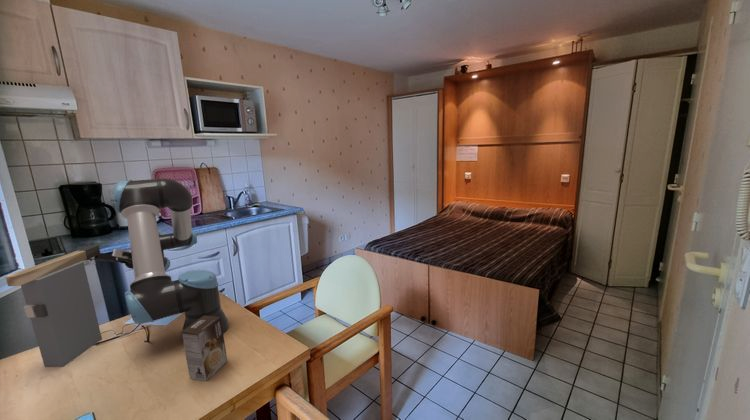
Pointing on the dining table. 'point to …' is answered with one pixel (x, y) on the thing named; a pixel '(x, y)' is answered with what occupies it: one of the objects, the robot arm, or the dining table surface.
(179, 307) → the robot arm
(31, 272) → the wooden bar
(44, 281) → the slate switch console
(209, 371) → the coffee box
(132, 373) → the dining table surface
